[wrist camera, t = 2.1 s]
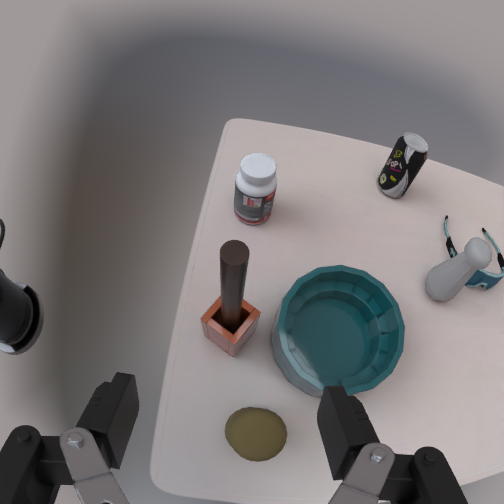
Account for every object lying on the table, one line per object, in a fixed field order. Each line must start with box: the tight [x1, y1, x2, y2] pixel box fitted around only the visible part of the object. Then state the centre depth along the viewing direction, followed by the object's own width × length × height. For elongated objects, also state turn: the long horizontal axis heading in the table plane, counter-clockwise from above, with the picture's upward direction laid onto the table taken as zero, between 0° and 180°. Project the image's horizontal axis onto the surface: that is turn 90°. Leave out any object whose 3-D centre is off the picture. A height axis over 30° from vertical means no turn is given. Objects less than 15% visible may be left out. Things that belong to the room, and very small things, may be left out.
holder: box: [201, 296, 261, 357], centre depth 37 cm, size 5×5×7 cm
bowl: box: [271, 265, 405, 397], centre depth 38 cm, size 16×16×6 cm
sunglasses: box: [444, 215, 504, 290], centre depth 48 cm, size 14×15×5 cm
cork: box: [225, 407, 287, 462], centre depth 29 cm, size 6×6×11 cm
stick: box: [220, 240, 249, 335], centre depth 31 cm, size 2×2×20 cm
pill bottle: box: [234, 153, 277, 225], centre depth 45 cm, size 6×6×10 cm
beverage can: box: [378, 132, 428, 198], centre depth 50 cm, size 6×6×12 cm
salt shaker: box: [426, 237, 492, 301], centre depth 39 cm, size 6×6×13 cm
